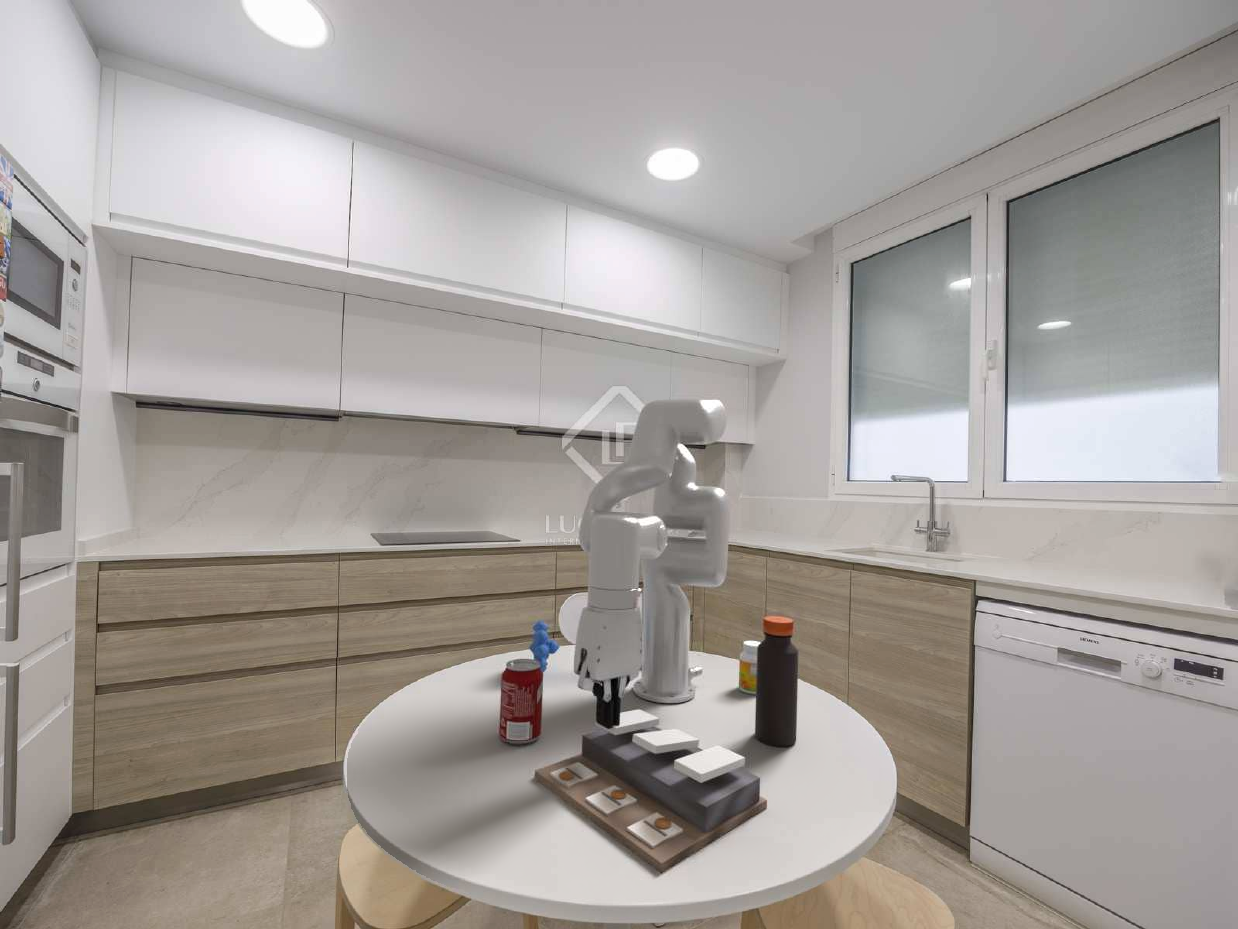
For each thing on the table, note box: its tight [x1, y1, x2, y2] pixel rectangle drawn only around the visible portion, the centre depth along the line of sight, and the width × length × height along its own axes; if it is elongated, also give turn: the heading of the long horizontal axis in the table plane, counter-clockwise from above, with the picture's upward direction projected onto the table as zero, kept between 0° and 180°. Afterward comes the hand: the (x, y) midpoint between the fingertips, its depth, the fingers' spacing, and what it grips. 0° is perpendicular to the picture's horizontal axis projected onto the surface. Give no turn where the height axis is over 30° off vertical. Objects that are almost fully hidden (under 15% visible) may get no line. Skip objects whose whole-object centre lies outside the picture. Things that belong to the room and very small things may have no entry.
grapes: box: [528, 620, 560, 674], centre depth 123 cm, size 12×7×12 cm, turn 11°
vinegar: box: [754, 615, 799, 748], centre depth 96 cm, size 7×7×20 cm
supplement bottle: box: [738, 640, 761, 695], centre depth 118 cm, size 5×5×10 cm
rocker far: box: [595, 709, 660, 735], centre depth 86 cm, size 9×4×1 cm, turn 132°
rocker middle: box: [632, 728, 700, 754], centre depth 80 cm, size 9×4×1 cm, turn 131°
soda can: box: [498, 658, 544, 746], centre depth 93 cm, size 7×7×12 cm
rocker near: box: [674, 745, 746, 783], centre depth 74 cm, size 9×4×1 cm, turn 132°
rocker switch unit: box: [534, 726, 768, 873], centre depth 77 cm, size 20×25×4 cm
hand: (607, 724), depth 83 cm, fingers closed
